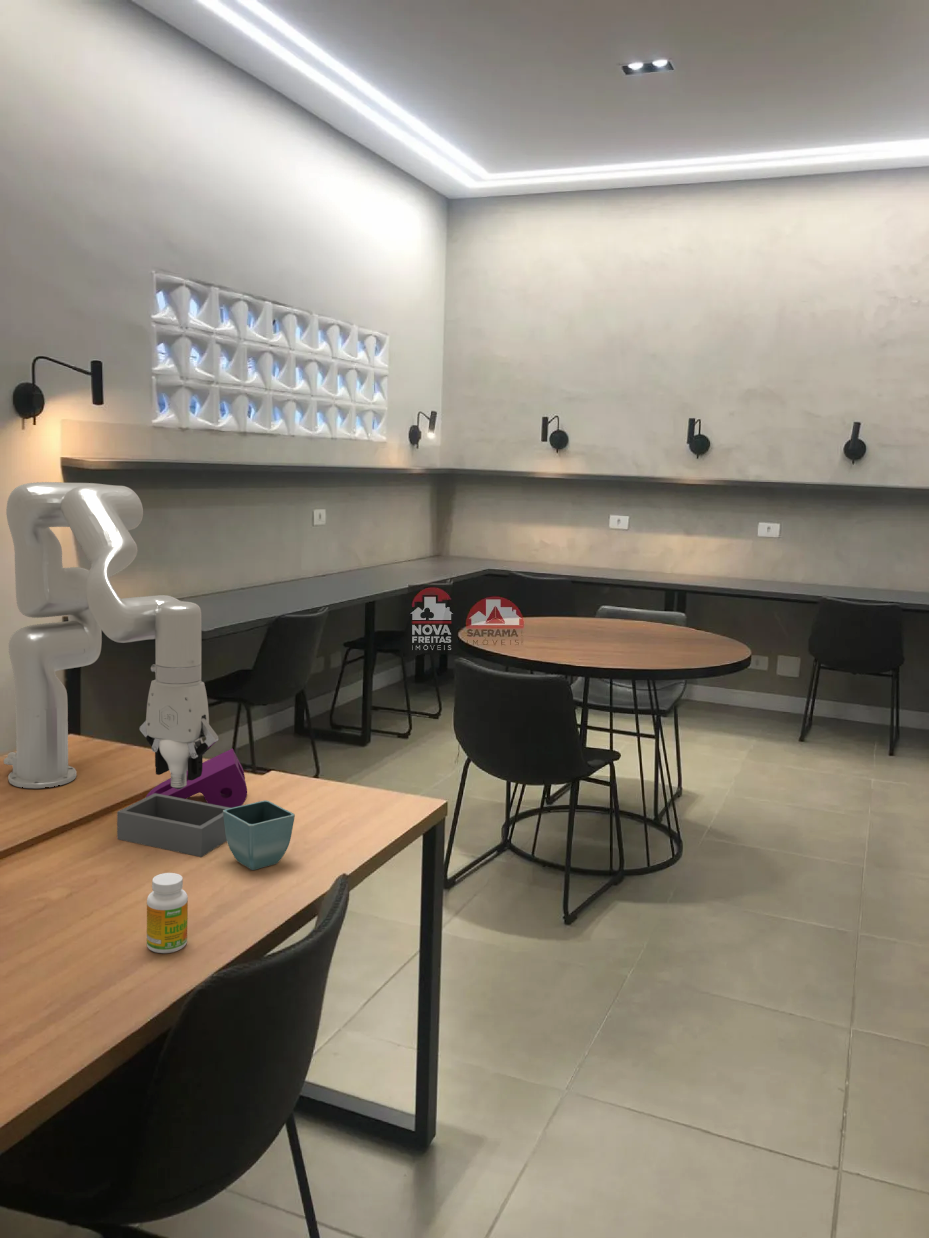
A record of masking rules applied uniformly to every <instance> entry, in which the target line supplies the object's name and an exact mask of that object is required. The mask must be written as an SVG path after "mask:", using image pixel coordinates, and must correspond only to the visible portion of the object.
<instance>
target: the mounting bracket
mask: <svg viewBox="0 0 929 1238" xmlns="http://www.w3.org/2000/svg"><path fill="white" fill-rule="evenodd" d="M186 777H187V778H186V779H187V780H186V781H187V785H186V786H185V787H183V788H182V789H176V788H174V787H172V786H171V777H170V778H168V779H166V780H164V781H162V782H161V783H159V784H157V785H156V786H155V787H153V788H152V789H151V790H150V791H148V793H147V794H146V796H145V798H146V797H148V796H150V795H152V794H154V793H156V794H162V795H167V796H172V797H177V798H182V799H188V798H191V797H193V796H194V795H196V794H201V795H202V796H203V798H204V800H205V803H208V804H214V805H219V806H224V807H229V808H233V807H238V806H242V805H244V803H245V802H246V799H247V796H248V787H247V783H246V782H247V781H246V777H245V771H244V769H243V765H242V764H241V762H240V760H239V758H238V756H237V754H236V753H235V750H234V749H233V748H230V749H229V750H226V751H224V752H222V753H220V754H218V755H216V756H213V757H212V758H210V759H207V760H205V761H202V775H201V776H200V777H198V778H196V779H194V780H189V779H188V770H187V776H186Z"/></svg>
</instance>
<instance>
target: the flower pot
mask: <svg viewBox="0 0 929 1238" xmlns="http://www.w3.org/2000/svg"><path fill="white" fill-rule="evenodd" d="M223 816H224V825H225V834H226V840H227V841H226V843H227V846H228V848H229V850H230V852H231V854H232V855H233V857H234V859H235V861H237V862H238V863H240V864H241V865H243V866H244V867H247V869H249V870H251V871H256V870H259V869H262V868H266V867H269V866H273V865H276V864H278V863H279V862H280V861H281V859H282V858H283V857H284V855H285V853H286V852H287V849H288V847H289V845H290V843H291V838H292V833H293V828H294V823H295V816H296V814H295V813H293V812H292V811H290V810H288V809H285V808H283V807H281V806H280V805H277V804H275V803H274V802H272V801H270V800H259V801H256V802H252V803H247V804H242V806H238V807H233V808H229V809H225V810H223Z"/></svg>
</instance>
